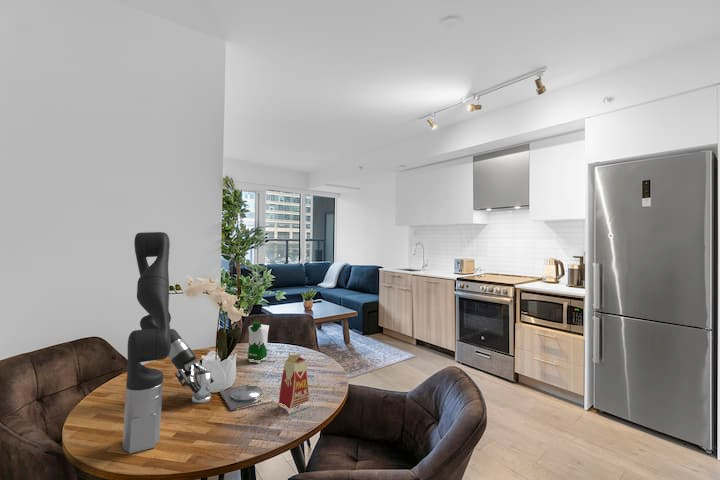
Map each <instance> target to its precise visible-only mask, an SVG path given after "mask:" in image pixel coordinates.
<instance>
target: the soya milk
mask: <svg viewBox="0 0 720 480" xmlns="http://www.w3.org/2000/svg"><path fill="white" fill-rule="evenodd" d="M247 327H248V349H247V350H248V351H247V360H248V359H254V360H261V359H263V358H264V357H266V356H267V357H268V353H267V352H268V338H269V337H268V335H269V330H270V325H267V324H262V322H260V321H253V322H252V325H249V326H247Z"/></svg>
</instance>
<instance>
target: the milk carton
mask: <svg viewBox="0 0 720 480" xmlns="http://www.w3.org/2000/svg"><path fill="white" fill-rule="evenodd" d="M287 355H288V357H287V359H286V360H285V362H284V366H283V370H282V377H281V382H280V388H279V396H278V404H279V403H282V404H285V405H286V406H287V407H288V408H290V409H291V408H293V407H296V406H298V405H300V404H303V403H305V402H308V401H310V402H311V398H310V397H311V396H310V389H309V388H310V387H309V378H308V368H307V359H304V358H303V357H301V355H302V354H301V353H298V354H297V353H296V354H292V353H287Z"/></svg>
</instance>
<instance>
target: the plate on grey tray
mask: <svg viewBox="0 0 720 480" xmlns="http://www.w3.org/2000/svg"><path fill="white" fill-rule="evenodd" d="M248 385H249V384H244V385H239V386H234V387H229V388H230V389H228V388H227V389H228V390H225V391H220V393H219V395H220V394H221V395H222V396H221V395H220V396H221V398H222V397H223V398H222V399H224V400H225V401H224V400H223V401H224V403H225V402H226V403H227V405H228V406H229V408H230V409H229V408H228V409H229V411H230V410H234V409H237V408H242V407H245V406H249V405H252V404H256V403H259V402H261V400H259V397H260V396H261V395H262V389H261V388H260V387H257V386H248ZM226 403H225V404H226ZM227 405H226V406H227ZM228 406H227V407H228Z"/></svg>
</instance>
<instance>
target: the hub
mask: <svg viewBox="0 0 720 480" xmlns="http://www.w3.org/2000/svg"><path fill="white" fill-rule="evenodd" d="M211 376H212V370H210V371H208V370H207V369H206V370H203V371H199V372H197V373H195V376H194V382H195V383H196V384H197V385H198V387H199V388H200V390H199V391H198V392H197V393H194V392H193V395H192V397H191V401H192V403H194V404H204V403H208V402H210V401H211V400H212V394H211V384H210V382H211ZM210 399H211V400H210ZM207 401H208V402H207Z"/></svg>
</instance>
